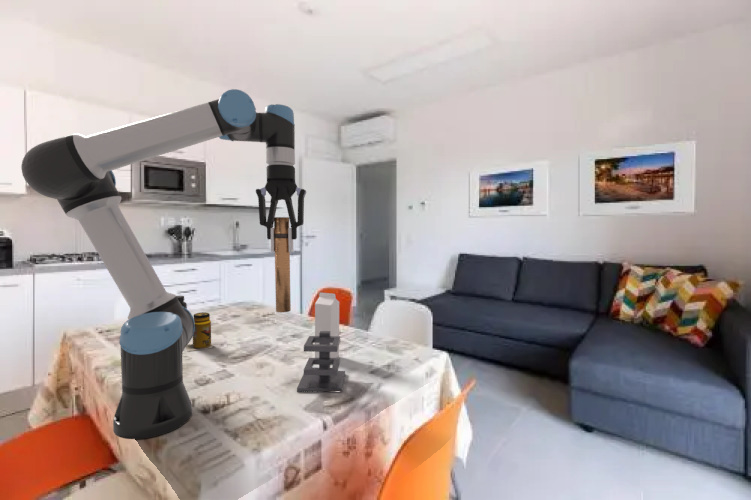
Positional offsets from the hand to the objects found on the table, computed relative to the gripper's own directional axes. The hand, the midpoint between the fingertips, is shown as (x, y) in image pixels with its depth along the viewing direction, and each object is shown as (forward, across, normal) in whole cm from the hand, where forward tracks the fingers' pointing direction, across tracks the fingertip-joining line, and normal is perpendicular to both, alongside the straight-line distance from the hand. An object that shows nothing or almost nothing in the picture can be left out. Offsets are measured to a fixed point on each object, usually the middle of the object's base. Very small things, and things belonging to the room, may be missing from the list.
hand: (282, 251), depth 102 cm
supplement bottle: (+37, +60, -60) cm, 92 cm away
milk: (+38, -10, -18) cm, 43 cm away
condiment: (+37, +37, -29) cm, 60 cm away
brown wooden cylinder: (+17, 0, 0) cm, 17 cm away
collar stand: (+37, -11, 0) cm, 39 cm away
